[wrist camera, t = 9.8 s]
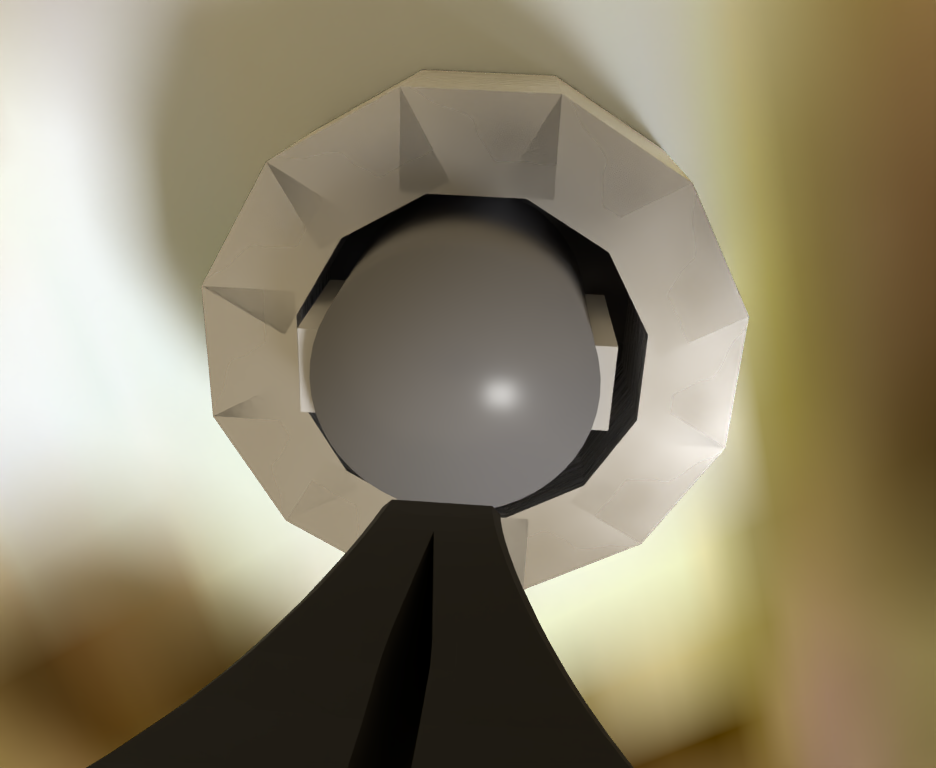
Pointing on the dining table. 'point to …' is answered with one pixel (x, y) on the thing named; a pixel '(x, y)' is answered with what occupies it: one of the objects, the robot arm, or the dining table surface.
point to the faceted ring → (602, 271)
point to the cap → (459, 354)
